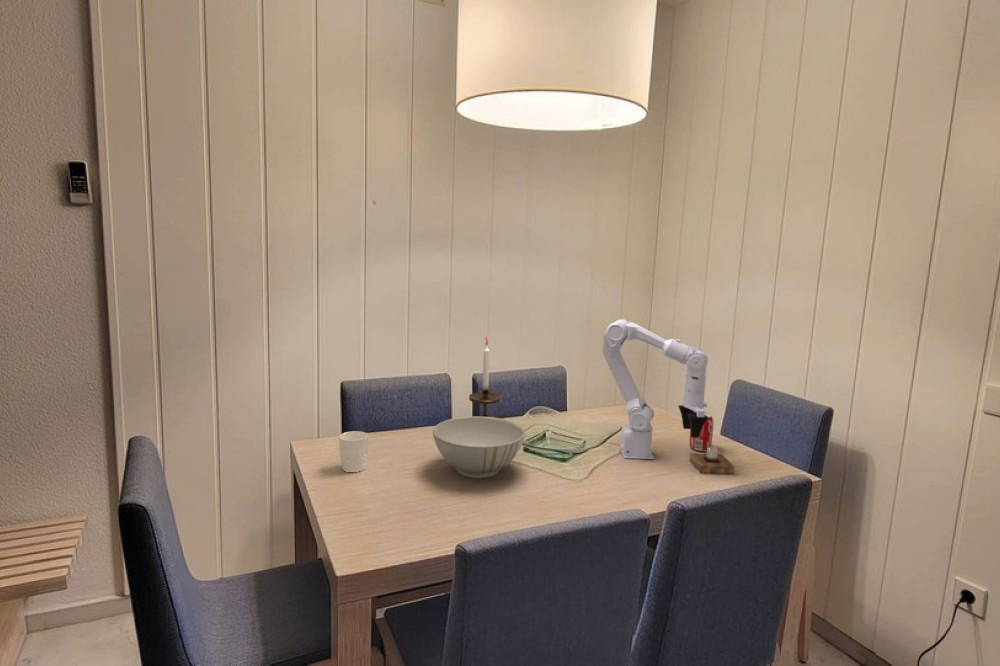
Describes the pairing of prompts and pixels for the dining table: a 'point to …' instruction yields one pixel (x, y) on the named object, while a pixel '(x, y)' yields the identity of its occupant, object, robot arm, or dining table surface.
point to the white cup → (353, 451)
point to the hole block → (711, 464)
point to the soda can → (703, 435)
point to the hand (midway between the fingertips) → (690, 432)
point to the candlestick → (485, 387)
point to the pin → (711, 454)
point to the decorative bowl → (478, 444)
